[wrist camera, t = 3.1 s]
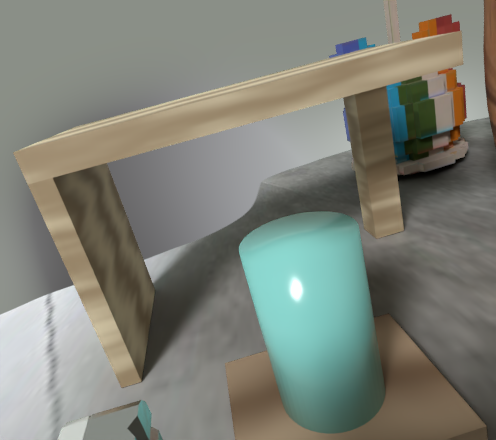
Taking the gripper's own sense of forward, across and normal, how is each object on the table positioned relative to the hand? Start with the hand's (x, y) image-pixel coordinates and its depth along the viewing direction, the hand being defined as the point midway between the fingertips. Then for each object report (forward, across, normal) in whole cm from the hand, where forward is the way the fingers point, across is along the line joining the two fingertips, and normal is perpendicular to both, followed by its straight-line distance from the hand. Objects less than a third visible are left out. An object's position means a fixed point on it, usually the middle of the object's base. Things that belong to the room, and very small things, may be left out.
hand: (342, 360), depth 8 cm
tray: (+12, +2, -13) cm, 18 cm away
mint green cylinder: (+12, +2, -12) cm, 17 cm away
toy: (+49, +28, -14) cm, 58 cm away
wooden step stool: (+26, +2, -14) cm, 29 cm away
